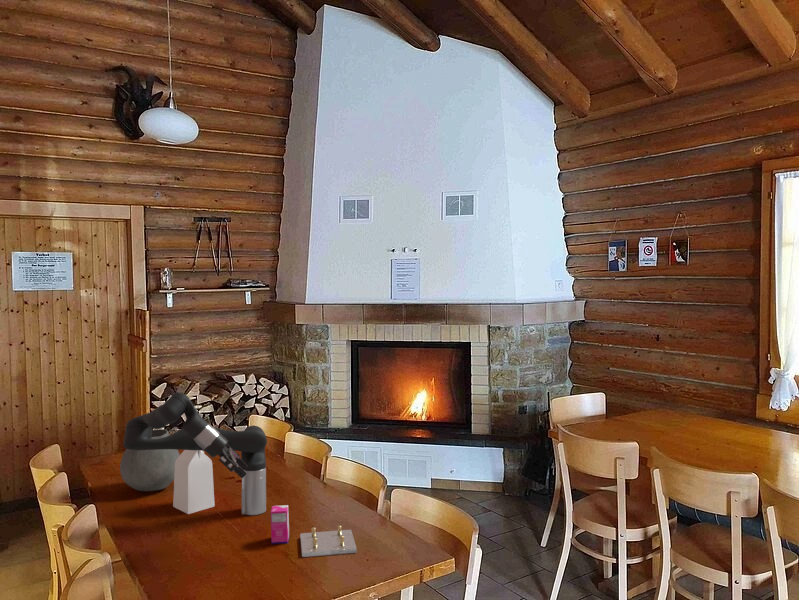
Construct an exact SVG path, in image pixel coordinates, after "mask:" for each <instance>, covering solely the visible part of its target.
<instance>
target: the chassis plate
mask: <svg viewBox="0 0 799 600" xmlns="http://www.w3.org/2000/svg"><path fill="white" fill-rule="evenodd" d="M342 528H343V527H342V525H340V524H338V525H337V530H328V531H327V530H326V531H316V529H317V527H315V526H313V527H311V532H301V533H300V535H299V536H300V538H299V539H300V548H301V558H310V557H321V556H333V555H334V556H336V555H346V554H348V555H349V554H357V552H358V551H357V549H358V548H357V544H356V542H355V538H354V535H353V532H352V529H342Z"/></svg>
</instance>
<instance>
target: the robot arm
mask: <svg viewBox="0 0 799 600" xmlns="http://www.w3.org/2000/svg"><path fill="white" fill-rule="evenodd" d="M183 414H184V415H185V416H184V417H186V418H185V421H184V423H183V425H182V428H181V429H179V430H177V431H175V432H173V433H172V434H168V435H169V436H167V437H164V438H160V439H151V436H152V430H158V429H163V428H165V427H166V426H168V425H170V424H171V425H172V424H174V423H176V422H177V421H178V420H179V419H180V418H181V417H182V416H183ZM267 438H268V437H267V436H266V433H265V432H264V430H263V428H261V427H260V426H258V425H249V426H247V427H245V429H244V430H228V429H224V428H223V429H222V428H219V427H214V426H212V425H211V424H210V423H208V422H207V421H206V419H204V417H202V416H201V414H200V413H199V412H198V409H196V407H195V405H194V404H193V402H192V400H191V399H190V398H189V396H188V395H187V394H185V393H183V392H179V391H178V392H174V393H173V394H172V395H171V396H170V397H169V398H168V399H167V400H166V401H164V403H163V404H160V405H159V406H157V407H156V408H154V409H152V411H150V412H148V413H145V414H141V415H138V416H136V417H133V418H132V419H131V418H130V420H128V421H127V423H126V426H125V430H124V436H123V444H122V445H123V447H124V449H125V450H126V449H129V450H160V449H177V450H178V451H179V450H182V451H184V450H201V451H203V452H204V453H205V452H206V454H207V455H208V456H209V457H211V458H213V459H214V458H215V457H216V456H218V457H220V458H219V459H218V461H219V463H221V464H222V465H223V466H225V468H226V469H227V470H228V471H229V472H232V473H233V472H234V473H235V474H236V475H238V477H240V478H241V515H246V516H257V515H261V514H264V513H265V512H266V511H267V460H266V451H265V450H266V446H267V442H268V439H267ZM238 452H240V454H239V453H238Z"/></svg>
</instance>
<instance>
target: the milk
mask: <svg viewBox="0 0 799 600" xmlns="http://www.w3.org/2000/svg"><path fill="white" fill-rule="evenodd" d="M179 454H180V456H179V457H178V458H177V459H176V461H175V476H174V480H173V500H172V501H173V503H172V507H173V508H175V509H177V510H179V511H181V512H183V513H185V514H187V515H190V514H193V513H196V512H199V511H200V512H202V511H203V510H207V509H210V508H213V507H214V508H215V505H216V504H215V503H216V502H215V494H214V493H215V492H214V491H215V489H214V487H215V485H214V472H213V471H214V469H213V461H212V459H211V458H210V456H209V455H206V454H205V451H204V450H203V451H201V450H182V452H181V453H179Z"/></svg>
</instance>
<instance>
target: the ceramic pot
mask: <svg viewBox="0 0 799 600" xmlns="http://www.w3.org/2000/svg"><path fill="white" fill-rule="evenodd" d="M169 435H170V434H169V431H168V430H167V429H165V428H164V429H163V428H161V429H152V436H151V439H160V438H164V437H167V436H169ZM180 454H181V453H180V452H179V450H177V449H160V450H129V449H126V448H125V451H124V452H123V454H122V457H121V459H120V465H119V472H120V476H121V478H122V480H123V482H124V483H125V484H126V485H127V486H129V487H130V488H132V489H134V490H135V491H138V492H155V491H160V490H164V489H166V488H167V487H168V486H169V485H171V484H172V483H173V482H174V476H175V461H176V459H177V458H178V457H179V456H180Z"/></svg>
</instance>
